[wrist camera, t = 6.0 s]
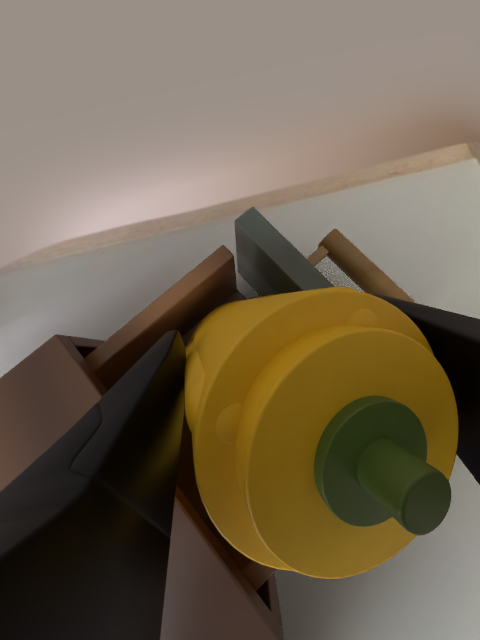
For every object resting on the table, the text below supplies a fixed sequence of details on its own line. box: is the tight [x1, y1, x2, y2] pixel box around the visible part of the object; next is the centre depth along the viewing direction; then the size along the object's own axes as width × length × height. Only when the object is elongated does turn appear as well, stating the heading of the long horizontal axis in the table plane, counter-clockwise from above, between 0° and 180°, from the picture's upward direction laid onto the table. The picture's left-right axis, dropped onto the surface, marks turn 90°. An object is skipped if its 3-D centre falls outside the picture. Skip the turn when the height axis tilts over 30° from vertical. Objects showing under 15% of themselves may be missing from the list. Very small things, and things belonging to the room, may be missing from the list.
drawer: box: [84, 207, 414, 591], centre depth 12 cm, size 20×12×6 cm, turn 132°
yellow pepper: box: [184, 287, 458, 579], centre depth 8 cm, size 7×7×10 cm
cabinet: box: [0, 334, 284, 640], centre depth 11 cm, size 16×13×8 cm
